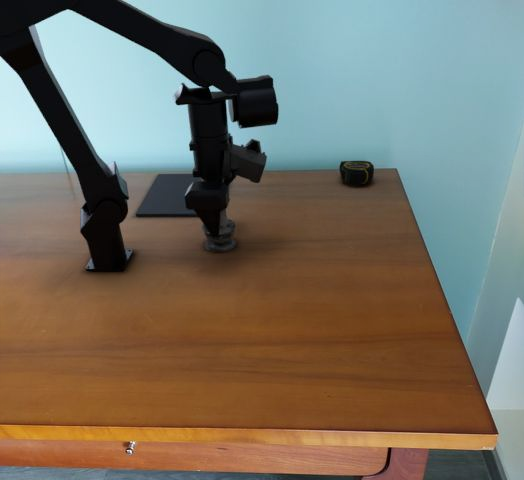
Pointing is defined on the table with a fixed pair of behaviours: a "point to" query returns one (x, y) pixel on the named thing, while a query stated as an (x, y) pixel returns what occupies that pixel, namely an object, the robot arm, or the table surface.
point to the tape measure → (356, 172)
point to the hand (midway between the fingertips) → (218, 226)
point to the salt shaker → (221, 235)
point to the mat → (168, 197)
